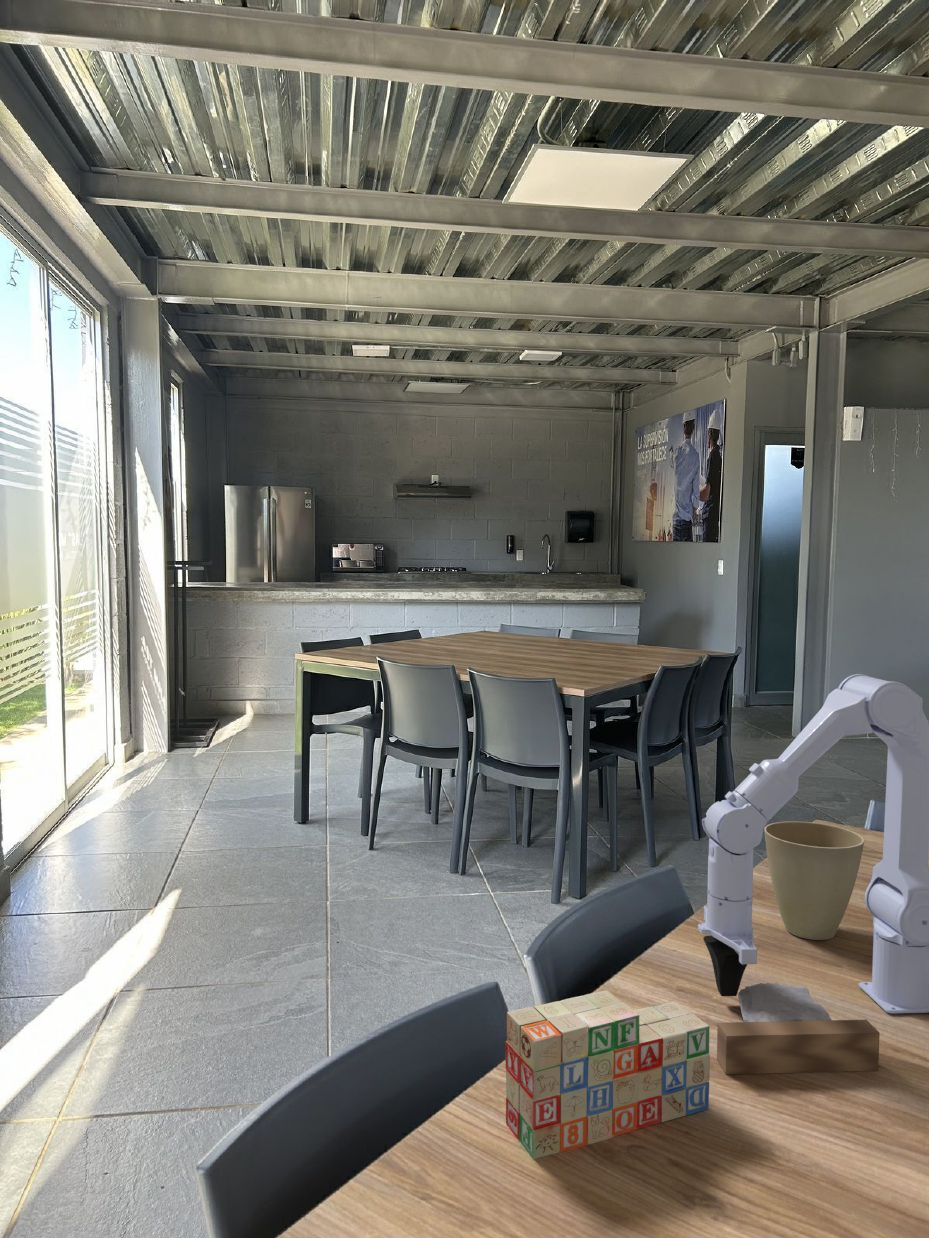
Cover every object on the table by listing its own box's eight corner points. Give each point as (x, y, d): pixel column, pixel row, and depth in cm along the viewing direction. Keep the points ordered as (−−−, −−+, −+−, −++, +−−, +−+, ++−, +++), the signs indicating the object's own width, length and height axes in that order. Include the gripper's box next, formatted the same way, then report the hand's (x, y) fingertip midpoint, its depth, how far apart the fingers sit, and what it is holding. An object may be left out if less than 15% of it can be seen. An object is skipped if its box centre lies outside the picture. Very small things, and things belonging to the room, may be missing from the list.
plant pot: (872, 954, 134) (876, 850, 133) (770, 946, 136) (772, 844, 135) (847, 916, 148) (850, 822, 147) (755, 910, 151) (757, 818, 150)
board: (865, 1056, 105) (866, 1019, 105) (878, 1070, 102) (879, 1032, 102) (716, 1059, 104) (717, 1022, 104) (725, 1074, 101) (726, 1035, 101)
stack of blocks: (674, 1079, 100) (676, 973, 100) (709, 1110, 95) (712, 998, 94) (504, 1124, 92) (505, 1009, 91) (532, 1161, 86) (533, 1038, 85)
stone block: (761, 1067, 106) (843, 1052, 106) (754, 1028, 106) (836, 1013, 106) (732, 1021, 118) (805, 1007, 118) (725, 986, 118) (799, 972, 118)
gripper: (683, 874, 124) (681, 969, 125) (719, 915, 109) (716, 1021, 110) (732, 874, 124) (730, 968, 125) (774, 914, 110) (771, 1020, 111)
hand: (727, 993), depth 118 cm, fingers closed
